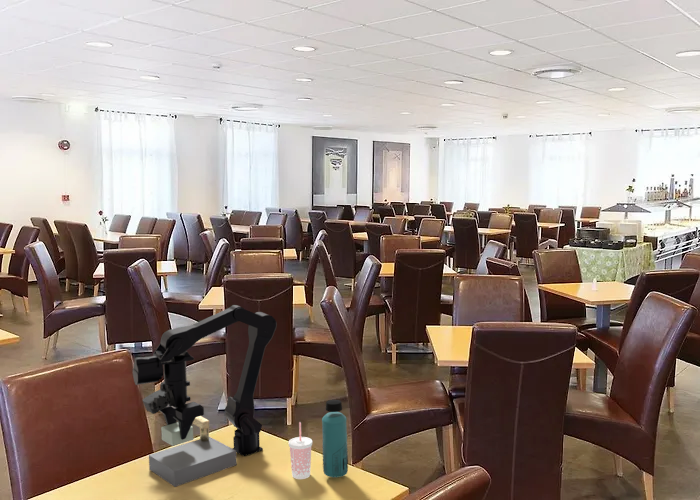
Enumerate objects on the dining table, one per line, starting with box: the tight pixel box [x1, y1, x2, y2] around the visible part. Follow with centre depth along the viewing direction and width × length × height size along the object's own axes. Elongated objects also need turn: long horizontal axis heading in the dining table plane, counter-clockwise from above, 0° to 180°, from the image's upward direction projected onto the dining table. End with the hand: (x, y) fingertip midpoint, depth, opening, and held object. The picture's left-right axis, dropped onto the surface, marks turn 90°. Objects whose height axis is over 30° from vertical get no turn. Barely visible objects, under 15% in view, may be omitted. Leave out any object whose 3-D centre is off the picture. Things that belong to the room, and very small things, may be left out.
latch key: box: [192, 415, 210, 441], centre depth 182 cm, size 17×2×6 cm, turn 40°
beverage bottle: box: [321, 399, 349, 478], centre depth 160 cm, size 6×7×20 cm
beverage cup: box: [288, 421, 313, 480], centre depth 162 cm, size 6×6×14 cm
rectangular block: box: [160, 421, 194, 447], centre depth 168 cm, size 6×6×4 cm
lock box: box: [148, 436, 237, 487], centre depth 168 cm, size 18×14×4 cm
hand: (177, 435), depth 168 cm, fingers closed on rectangular block, 6 cm apart
